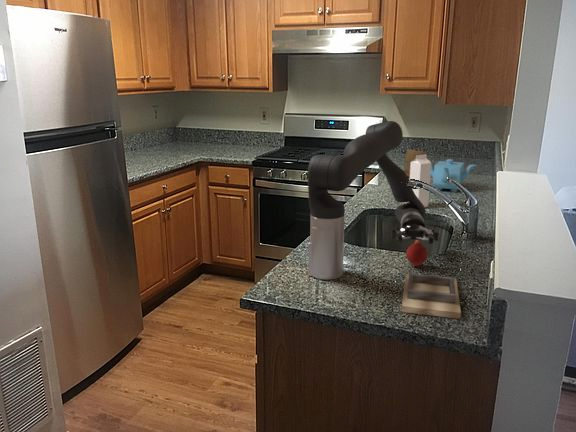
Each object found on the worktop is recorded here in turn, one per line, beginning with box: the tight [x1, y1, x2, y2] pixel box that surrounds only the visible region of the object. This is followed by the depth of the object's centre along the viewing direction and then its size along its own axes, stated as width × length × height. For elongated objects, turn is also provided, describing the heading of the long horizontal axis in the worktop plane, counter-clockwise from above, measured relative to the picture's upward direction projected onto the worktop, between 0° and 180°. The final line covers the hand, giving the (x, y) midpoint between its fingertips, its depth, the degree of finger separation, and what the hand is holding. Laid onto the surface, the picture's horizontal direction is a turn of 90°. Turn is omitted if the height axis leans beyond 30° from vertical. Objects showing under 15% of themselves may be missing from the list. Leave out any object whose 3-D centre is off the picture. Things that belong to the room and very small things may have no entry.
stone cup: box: [402, 149, 426, 178], centre depth 263 cm, size 15×12×15 cm
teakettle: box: [430, 158, 477, 193], centre depth 232 cm, size 19×19×15 cm
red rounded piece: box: [405, 239, 428, 268], centre depth 138 cm, size 6×6×8 cm
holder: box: [401, 273, 462, 320], centre depth 119 cm, size 13×20×4 cm, turn 164°
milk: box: [409, 153, 432, 208], centre depth 201 cm, size 6×6×22 cm
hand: (415, 240), depth 143 cm, fingers open, 8 cm apart
